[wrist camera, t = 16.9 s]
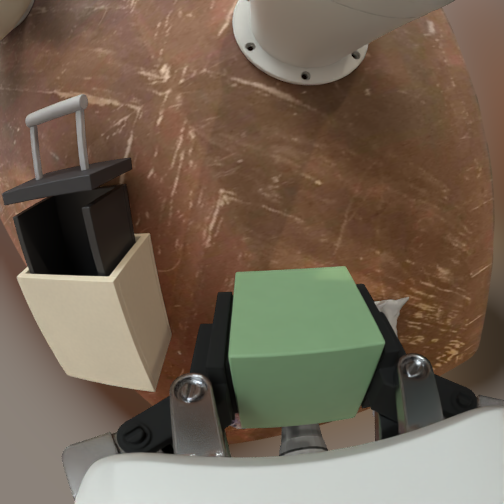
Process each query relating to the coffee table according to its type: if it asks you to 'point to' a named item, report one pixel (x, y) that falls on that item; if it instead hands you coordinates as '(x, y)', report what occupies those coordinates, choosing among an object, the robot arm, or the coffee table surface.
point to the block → (300, 346)
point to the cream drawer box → (105, 320)
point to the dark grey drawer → (73, 208)
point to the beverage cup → (301, 440)
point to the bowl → (13, 14)
